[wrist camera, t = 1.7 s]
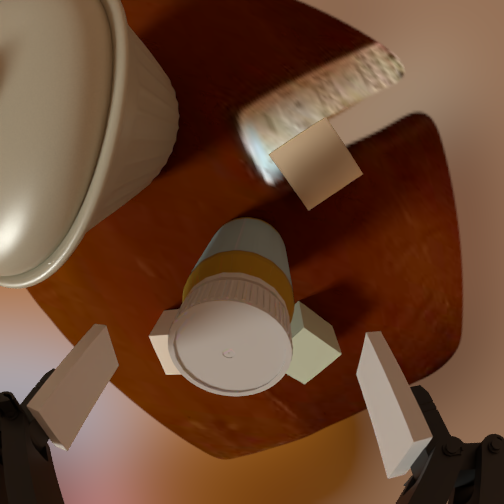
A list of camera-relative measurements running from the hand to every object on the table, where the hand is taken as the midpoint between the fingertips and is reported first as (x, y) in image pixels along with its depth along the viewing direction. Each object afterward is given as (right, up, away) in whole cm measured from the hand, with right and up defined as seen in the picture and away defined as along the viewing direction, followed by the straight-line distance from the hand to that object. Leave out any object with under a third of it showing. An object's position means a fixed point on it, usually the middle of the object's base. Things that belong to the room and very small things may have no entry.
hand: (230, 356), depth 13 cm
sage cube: (+6, -3, +17) cm, 18 cm away
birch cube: (+6, +13, +11) cm, 18 cm away
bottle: (+1, +5, +14) cm, 15 cm away
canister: (-12, +17, +11) cm, 23 cm away
